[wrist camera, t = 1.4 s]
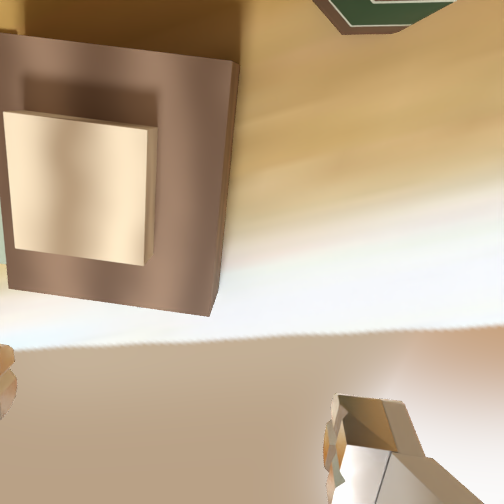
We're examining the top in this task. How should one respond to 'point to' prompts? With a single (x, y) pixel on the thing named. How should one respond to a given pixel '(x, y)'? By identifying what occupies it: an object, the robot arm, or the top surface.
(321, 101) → the top surface
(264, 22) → the top surface
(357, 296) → the top surface
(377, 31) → the beer bottle
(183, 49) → the top surface
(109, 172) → the birch tile
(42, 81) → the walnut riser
